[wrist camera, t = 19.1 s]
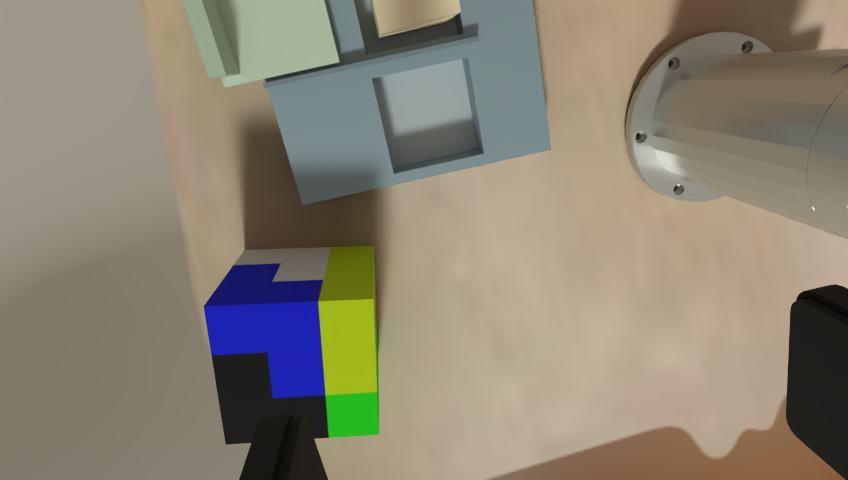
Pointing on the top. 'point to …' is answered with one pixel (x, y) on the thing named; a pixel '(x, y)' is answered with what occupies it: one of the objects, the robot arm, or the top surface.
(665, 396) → the top surface
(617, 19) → the top surface
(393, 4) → the maple block
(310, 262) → the puzzle toy
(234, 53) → the sliding lid
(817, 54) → the robot arm
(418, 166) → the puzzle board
